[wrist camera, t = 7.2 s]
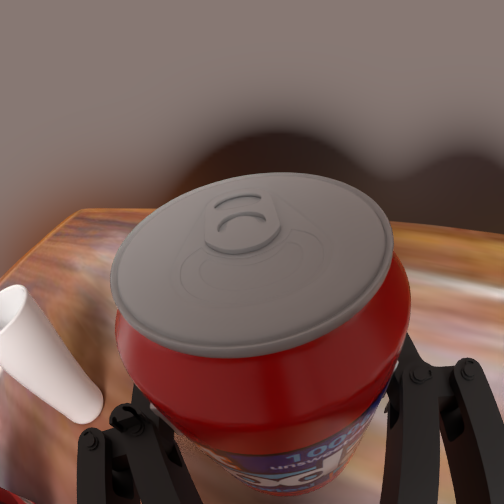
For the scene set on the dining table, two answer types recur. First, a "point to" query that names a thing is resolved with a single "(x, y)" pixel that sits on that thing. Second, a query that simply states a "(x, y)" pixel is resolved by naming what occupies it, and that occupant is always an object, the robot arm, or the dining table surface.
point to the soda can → (264, 322)
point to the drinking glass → (43, 358)
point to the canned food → (12, 498)
